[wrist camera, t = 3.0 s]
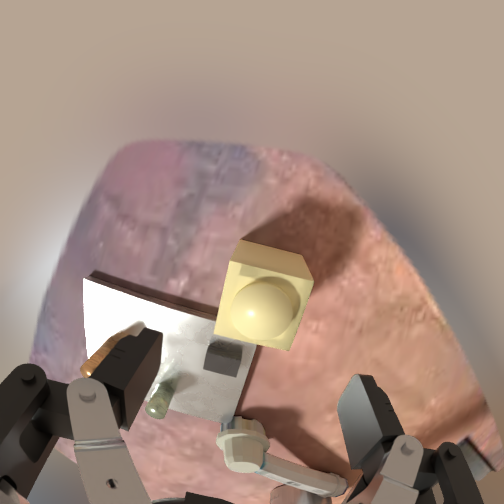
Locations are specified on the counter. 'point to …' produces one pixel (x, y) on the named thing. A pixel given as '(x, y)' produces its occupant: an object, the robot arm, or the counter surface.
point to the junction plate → (170, 350)
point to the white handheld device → (271, 460)
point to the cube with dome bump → (263, 296)
